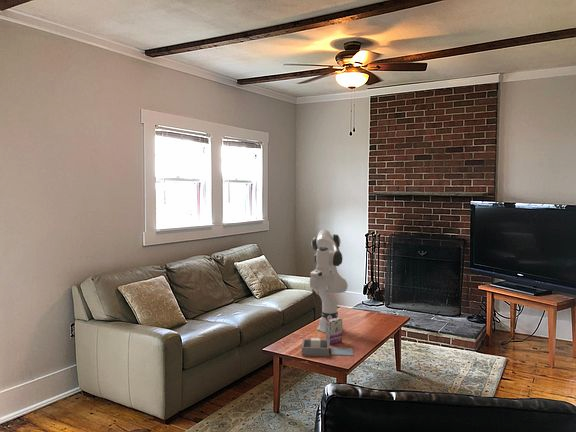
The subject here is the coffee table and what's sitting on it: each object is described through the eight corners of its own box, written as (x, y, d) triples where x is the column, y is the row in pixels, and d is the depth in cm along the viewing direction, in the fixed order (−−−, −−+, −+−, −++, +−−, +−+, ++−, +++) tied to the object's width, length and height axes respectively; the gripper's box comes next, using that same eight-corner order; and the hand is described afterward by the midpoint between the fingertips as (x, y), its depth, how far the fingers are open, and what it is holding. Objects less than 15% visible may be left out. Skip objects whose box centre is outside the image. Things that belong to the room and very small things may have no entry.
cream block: (311, 349, 294) (311, 337, 294) (320, 350, 294) (320, 338, 293) (310, 352, 290) (310, 340, 289) (320, 352, 289) (320, 340, 289)
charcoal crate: (303, 346, 300) (303, 339, 300) (328, 347, 299) (328, 340, 299) (301, 355, 285) (301, 347, 284) (328, 356, 283) (328, 348, 283)
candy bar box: (337, 340, 313) (337, 317, 312) (342, 342, 309) (342, 318, 308) (325, 343, 307) (325, 319, 306) (330, 345, 303) (330, 321, 302)
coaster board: (331, 348, 297) (331, 347, 297) (352, 349, 296) (352, 348, 296) (331, 355, 285) (331, 354, 285) (353, 356, 284) (353, 355, 284)
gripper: (329, 269, 305) (329, 290, 305) (308, 273, 291) (308, 294, 291) (336, 271, 300) (336, 291, 301) (315, 274, 286) (315, 295, 287)
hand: (322, 293), depth 296 cm, fingers open, 8 cm apart
